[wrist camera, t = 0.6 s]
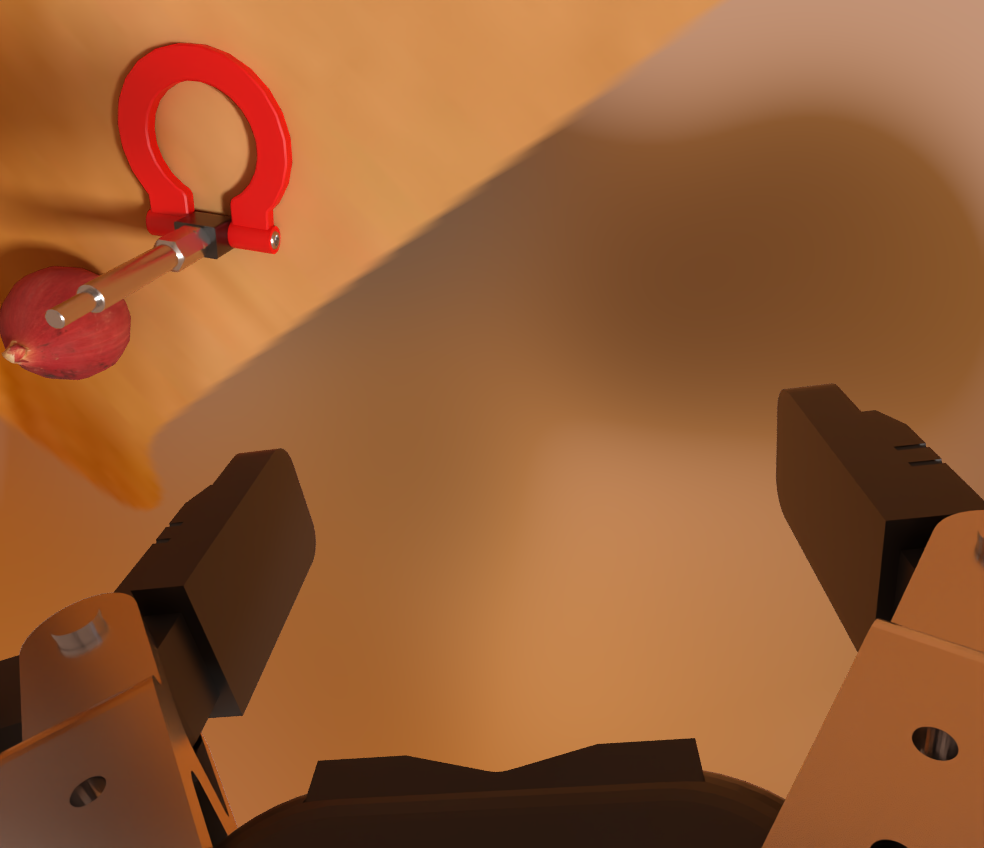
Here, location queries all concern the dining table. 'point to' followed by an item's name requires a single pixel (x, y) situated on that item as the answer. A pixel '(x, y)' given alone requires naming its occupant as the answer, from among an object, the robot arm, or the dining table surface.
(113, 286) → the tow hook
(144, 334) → the dining table surface
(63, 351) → the onion
